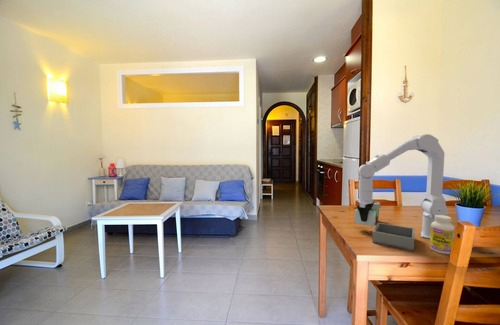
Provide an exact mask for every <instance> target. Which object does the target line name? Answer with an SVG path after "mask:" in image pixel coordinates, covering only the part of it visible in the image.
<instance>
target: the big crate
mask: <svg viewBox="0 0 500 325" xmlns="http://www.w3.org/2000/svg"><path fill="white" fill-rule="evenodd" d="M415 232H416V229H415V227H409V226H403V225H397V224H390V223H389V224H388V223H383V222H378V223H376V224H375V226H374V229H373V230H372V243H373V244H378V245H382V246H388V247H392V248H398V249H402V250H407V251H412V252H414V251H415V239H416V238H415V236H416V233H415Z"/></svg>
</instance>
